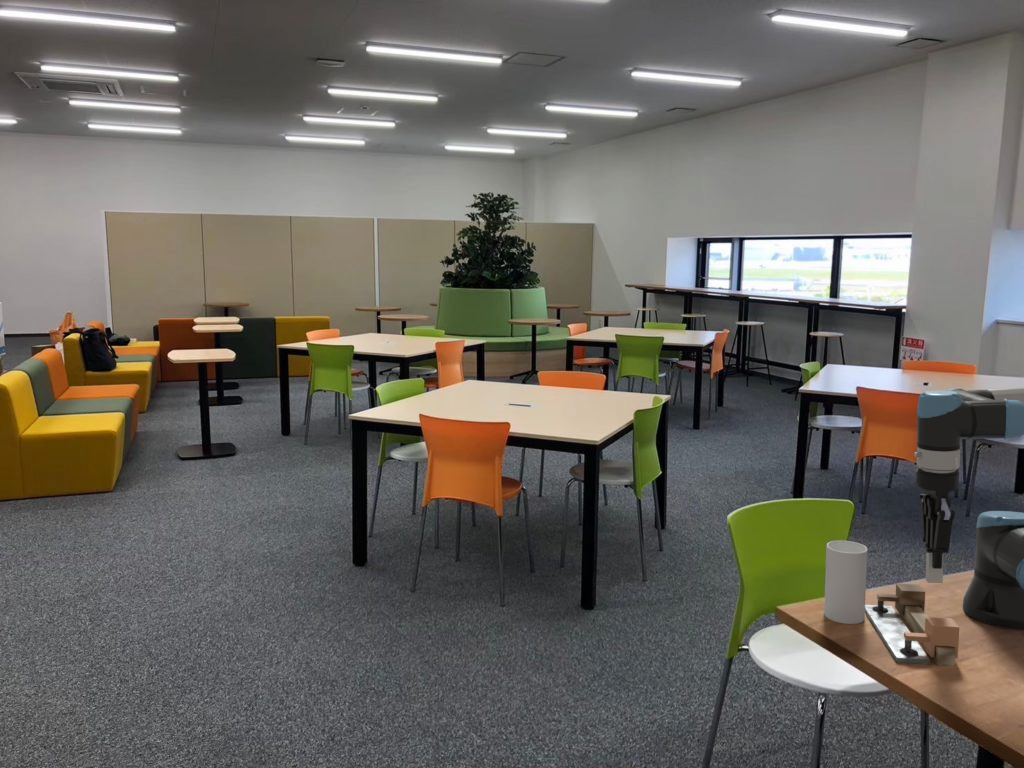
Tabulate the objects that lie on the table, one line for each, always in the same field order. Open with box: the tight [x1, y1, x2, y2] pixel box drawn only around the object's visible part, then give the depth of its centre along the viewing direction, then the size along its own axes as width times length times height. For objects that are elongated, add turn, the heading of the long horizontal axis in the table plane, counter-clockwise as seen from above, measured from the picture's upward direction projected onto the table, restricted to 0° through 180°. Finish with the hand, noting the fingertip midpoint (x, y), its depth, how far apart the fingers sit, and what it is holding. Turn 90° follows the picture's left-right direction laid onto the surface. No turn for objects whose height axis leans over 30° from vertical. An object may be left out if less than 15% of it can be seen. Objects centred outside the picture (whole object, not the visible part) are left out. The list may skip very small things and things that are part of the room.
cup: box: [823, 540, 868, 625], centre depth 172 cm, size 8×8×16 cm
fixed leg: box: [876, 583, 926, 616], centre depth 173 cm, size 9×4×6 cm, turn 80°
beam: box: [901, 605, 956, 667], centre depth 163 cm, size 3×25×3 cm, turn 170°
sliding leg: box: [904, 616, 960, 660], centre depth 154 cm, size 9×4×6 cm, turn 80°
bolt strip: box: [865, 604, 931, 665], centre depth 164 cm, size 6×25×1 cm, turn 170°
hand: (934, 581), depth 159 cm, fingers closed
